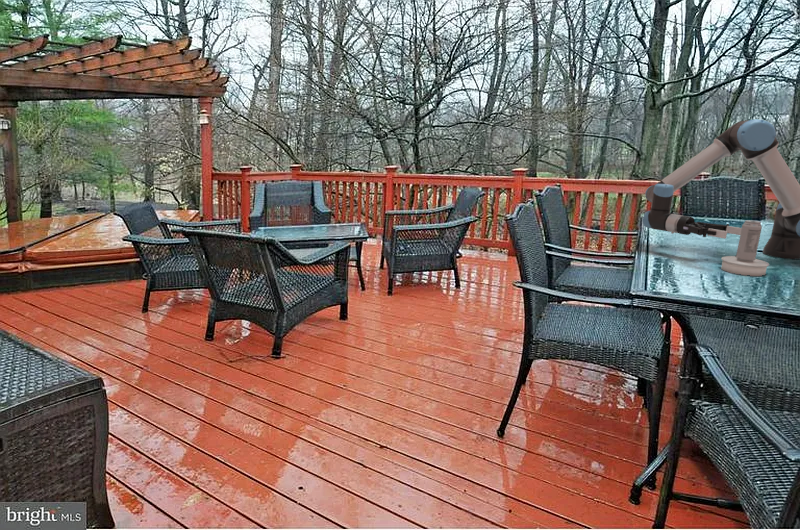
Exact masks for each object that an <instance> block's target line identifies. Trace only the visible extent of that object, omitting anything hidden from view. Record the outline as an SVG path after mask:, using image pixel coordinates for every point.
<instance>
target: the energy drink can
mask: <svg viewBox="0 0 800 530" xmlns="http://www.w3.org/2000/svg"><path fill="white" fill-rule="evenodd" d="M761 223H762V222H761V221H758V220H749V219H748V220H744V223H743V224H742V225H741V228H742V230H741V235H739V240H738V245H737V250H736V255H735V256H736V258H737V260H739V261H742V262H753V260H755V259H757V258H756V257H757V252H758V248H759V243H760V238H761V233H762V228H763V226H762V224H761Z"/></svg>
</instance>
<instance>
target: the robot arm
mask: <svg viewBox="0 0 800 530" xmlns="http://www.w3.org/2000/svg"><path fill="white" fill-rule="evenodd" d="M776 135H777V133H776V129H775V126H774V125H773V124H772V123H771V122H770V121H768V120H764V119H761V118H759V119H758V118H755V119H749V120H748V119H747V120H741V121H737V122H736V123H734V124H732V125H730V127H729V128H727V129H726V130H725V131H723V132H722V133H721V134H720V135H718V136H717V137H715V138H714V139H713V143H711V144H709V145H708V146H707V147H705V148H704V149H703V150H701V151H700V152H698V153H697V154H696V155H694V156H693V157H692V158H690V159H689V160H687V161H686V162H684V163H683V164H682V165H680V166H679V167H678V168H677V169H674V170H673V171H672V172H671V173H670V174H668V175H667V176H665V177H664V178H662V179H661V180H660V181H658V182H656V183H655V184H654V185H653V184H652V185H650V186H649V187H647V188H646V190H645V193H644V195H645V198H646V200H647V201H648V202H649V203H651V207H650V210H648V211H645V213H644V214H643V216H642V224H643V226H644V228H645V227H646V228H649V229H653V230H658V231H663V232H669V233H670V234H672V235H673V234H679V235H685V236H689V235H691V234H695V235H698V236H702V237H703V238H707V236H708V237H715V238H719V239H720V238H721V239H727V234H731V235H736V236H737V235H738V236H740V235H741V230H742V227H738V226H737V227H736V226H730V224H729V223H726V224H721V223H719V224H718V223H708V222H702V221H697V222H696V221H695V218H694V217H692V216H689V215H683V214H682V215H681V214H675V213H671V208H672V204H673V203H672V201H673V198H674V197H673V196H674V194H675V192H676V191H677V190H680V189H681V188H682V187H684V186H685V185H687V184H688V183H689V182H691V181H693V180H694V179H695V178H696V177H699V175H701V174H702V173H703V172H705V171H706V170H708V169H709V168H710V167H712V166H713V165H715V164H717V163H718V162H720V161H721V160H722V159H724V158H726V157H731V156H732V155H734V154H735V153H737V152H741V153H742V154H743V156H744V157H745V159H746V160H748V161H753V163H754V165H755V166H756V168H757V170H759V173H760V174H761V175H762V178H763V179H764V180H765V182H766V184H767V185H768V186H769V188H770V190H771V192H772V194H774V196H775V198H776V199H777V201H778V202H779V203H778V205H777V207H776V209H775V216H774V222H773V225H772V231H771V235H770V237H769V239H768V241H767V242H766V244H765V245H764V246H763V250H762V254H764V255H765V256H769V257H770V256H771V257H775V258H779V257H780V258H782V259H787V260H800V183H799V182H798V180H797V178H796V177H795V175H794V174H793V172H792V170H791V169H790V167H789V166H788V164H787V163H786V160H785V159H784V158H783V156H782V154H781V153H780V151H779V150H778V146H779V141H778V140H777V137H776Z"/></svg>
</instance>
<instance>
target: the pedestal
mask: <svg viewBox="0 0 800 530" xmlns="http://www.w3.org/2000/svg"><path fill="white" fill-rule="evenodd" d="M720 260H721V261H722V262H721V266H720V267H721V268H720V269H721V270H722V271H724V272H727V273H731V274H734V273H735V274H734V275H739V274H741V275H740V276H747V275H750V276H749V277H763V276H762V275H764V276H766V273H767V269H768V268H767V267H769V266H770V263H769V262H767V261H765V260H761V259H757V258H755V260H753V262H742V261H739V260H737V258H736V255H727V256H726V255H725V256H722V257H721V259H720Z"/></svg>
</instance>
